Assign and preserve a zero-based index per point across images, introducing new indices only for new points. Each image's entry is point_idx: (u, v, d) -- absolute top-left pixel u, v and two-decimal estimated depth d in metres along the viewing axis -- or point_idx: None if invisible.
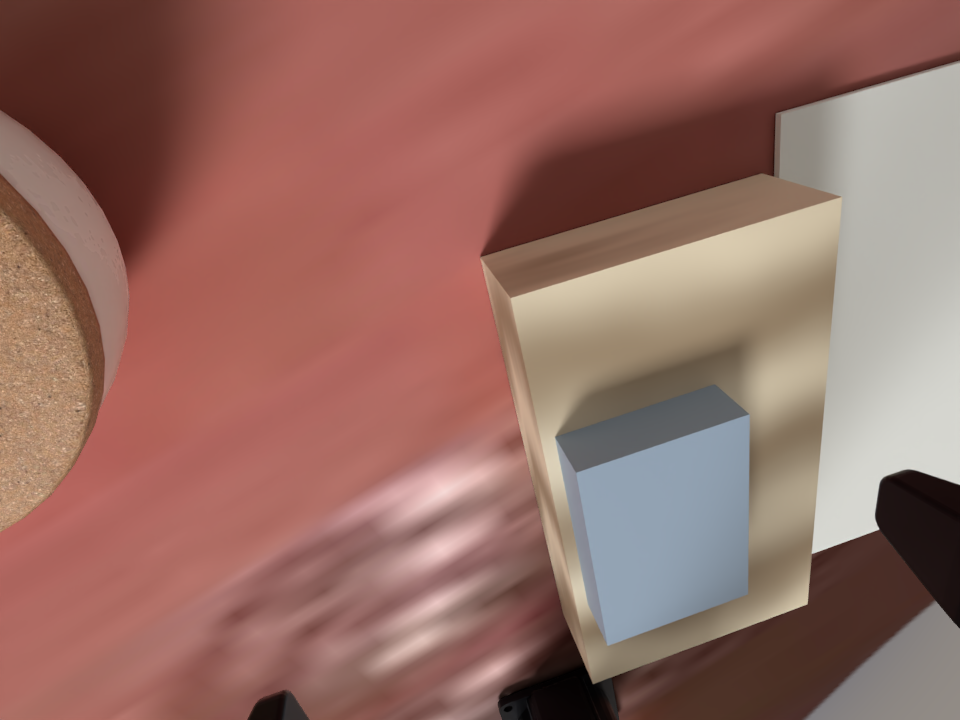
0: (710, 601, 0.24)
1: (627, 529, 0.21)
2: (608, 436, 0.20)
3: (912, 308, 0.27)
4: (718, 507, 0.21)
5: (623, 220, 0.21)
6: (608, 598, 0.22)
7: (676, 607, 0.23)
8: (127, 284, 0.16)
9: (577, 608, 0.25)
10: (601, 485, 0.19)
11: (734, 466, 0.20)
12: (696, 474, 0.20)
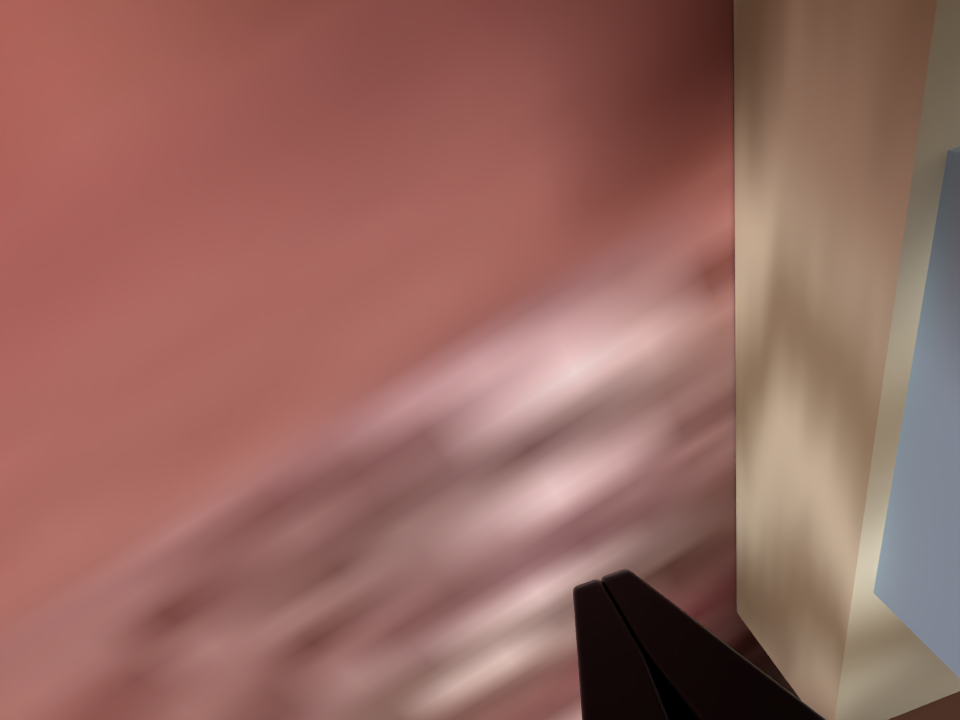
0: None
1: None
2: None
3: None
4: None
5: None
6: None
7: None
8: None
9: (852, 600, 0.12)
10: None
11: None
12: None
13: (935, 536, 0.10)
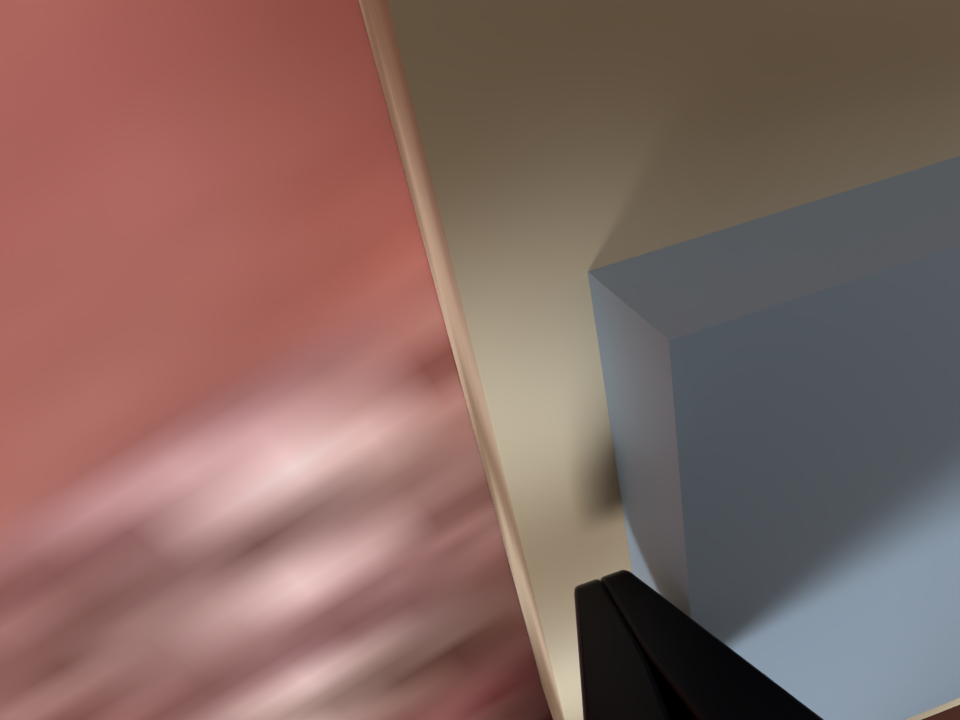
0: (939, 693, 0.10)
1: (794, 528, 0.07)
2: (749, 254, 0.07)
3: None
4: None
5: None
6: None
7: (866, 711, 0.10)
8: None
9: (566, 719, 0.12)
10: (741, 392, 0.06)
11: None
12: None
13: None
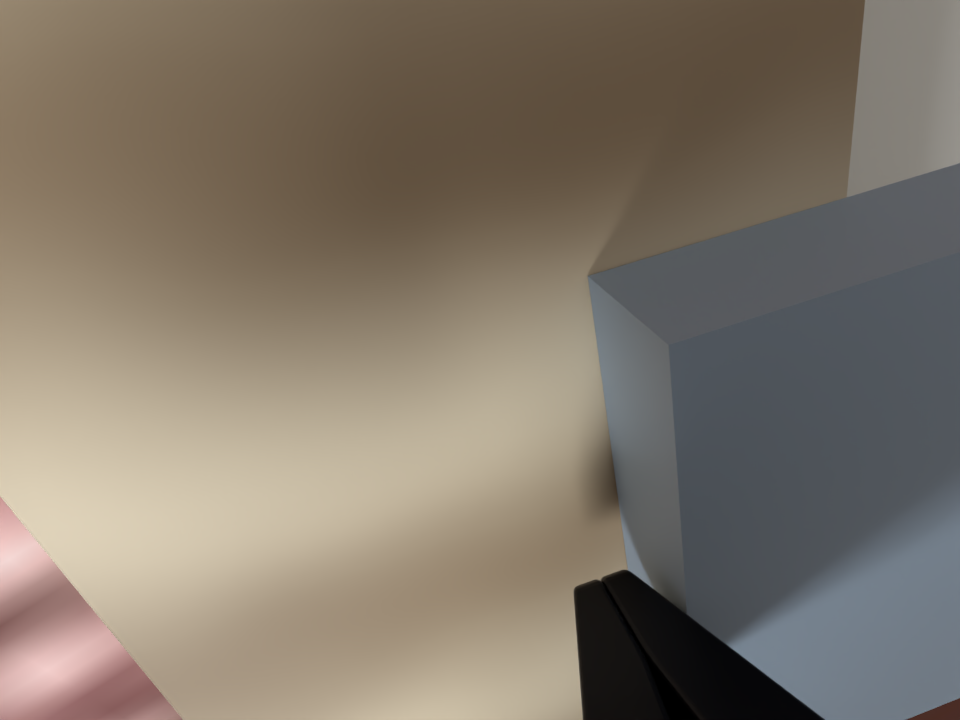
0: (932, 697, 0.10)
1: (789, 533, 0.07)
2: (748, 260, 0.07)
3: None
4: None
5: None
6: None
7: (860, 714, 0.10)
8: None
9: None
10: (739, 396, 0.06)
11: None
12: None
13: None
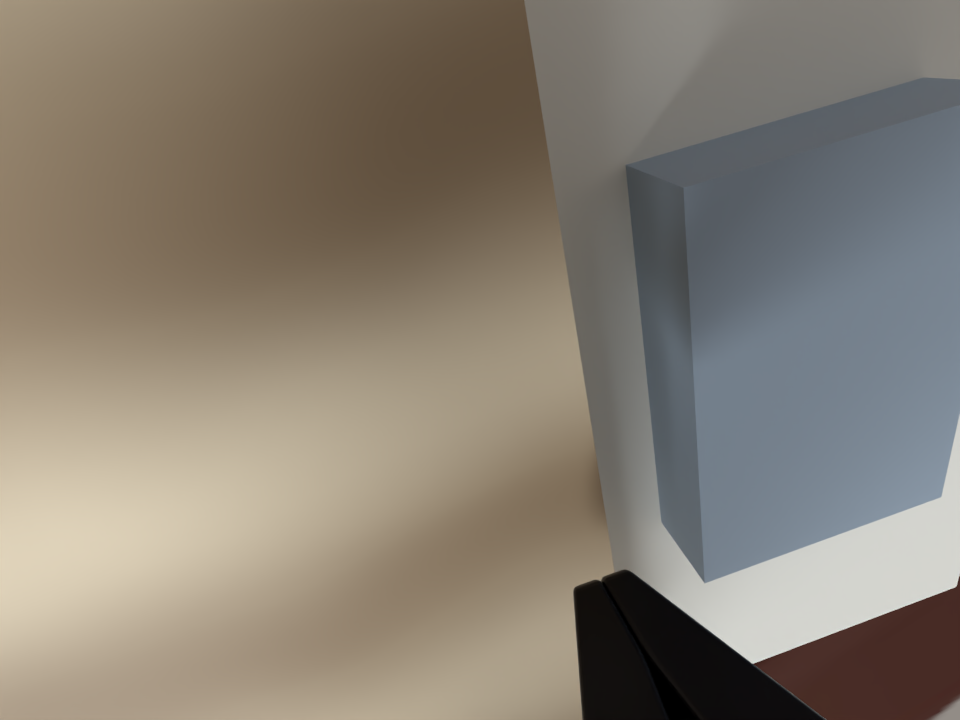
0: None
1: None
2: (898, 104, 0.10)
3: None
4: None
5: None
6: None
7: None
8: None
9: None
10: None
11: None
12: None
13: None
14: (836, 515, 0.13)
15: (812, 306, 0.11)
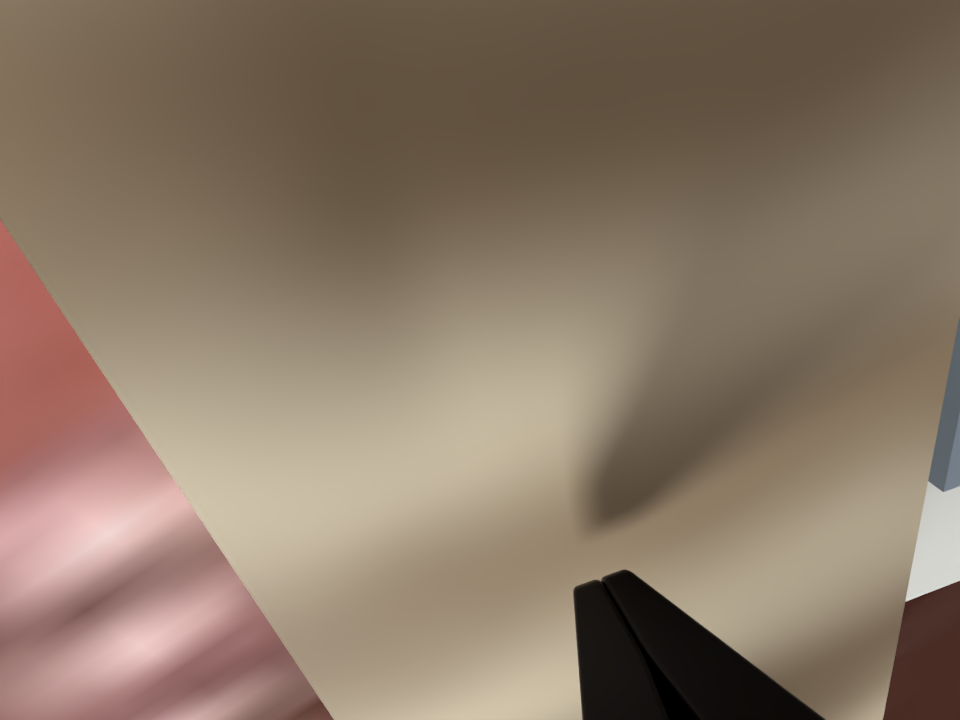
0: None
1: None
2: None
3: None
4: None
5: None
6: None
7: None
8: None
9: None
10: None
11: None
12: None
13: None
14: None
15: None
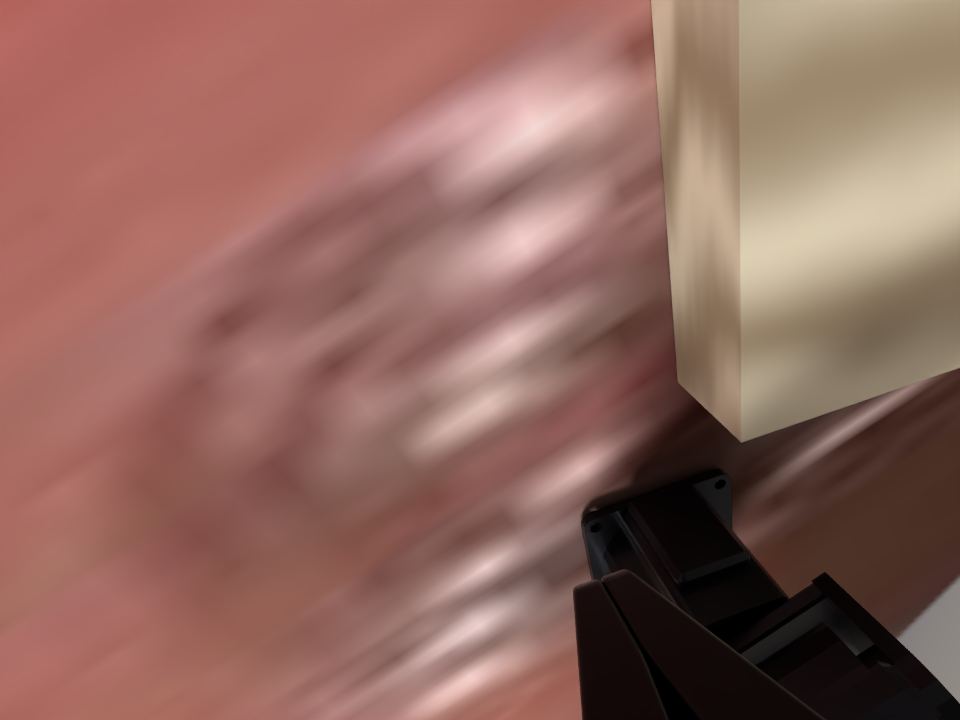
0: None
1: None
2: None
3: None
4: None
5: None
6: None
7: None
8: None
9: (741, 287, 0.17)
10: None
11: None
12: None
13: None
14: None
15: None
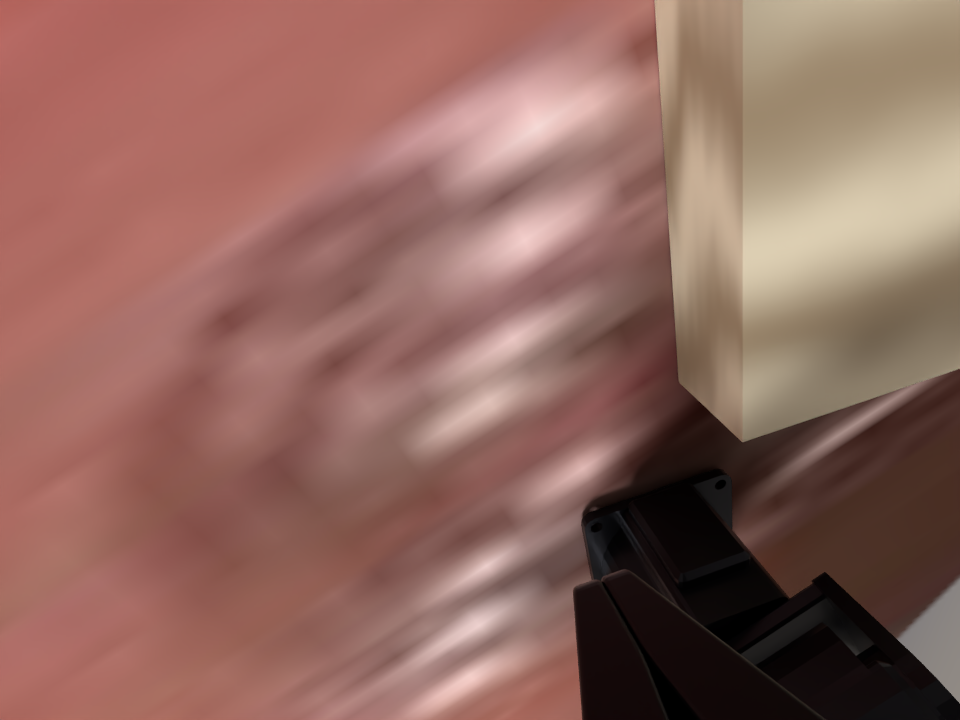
0: None
1: None
2: None
3: None
4: None
5: None
6: None
7: None
8: None
9: (743, 287, 0.17)
10: None
11: None
12: None
13: None
14: None
15: None
